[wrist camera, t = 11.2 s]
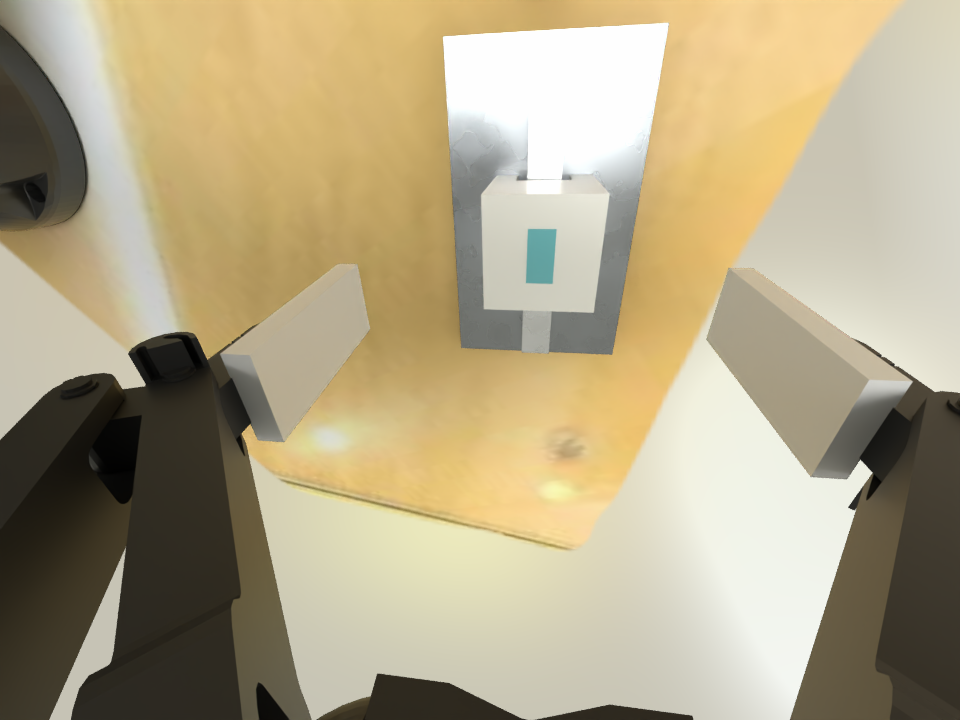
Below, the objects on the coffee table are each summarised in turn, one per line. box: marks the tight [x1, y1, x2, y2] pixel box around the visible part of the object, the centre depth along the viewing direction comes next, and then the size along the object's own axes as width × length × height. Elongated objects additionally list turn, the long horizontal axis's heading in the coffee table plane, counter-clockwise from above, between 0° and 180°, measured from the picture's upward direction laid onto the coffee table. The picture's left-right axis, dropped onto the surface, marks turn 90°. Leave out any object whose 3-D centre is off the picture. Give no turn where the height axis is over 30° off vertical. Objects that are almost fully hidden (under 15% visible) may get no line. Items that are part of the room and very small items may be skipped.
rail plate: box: [443, 23, 669, 355], centre depth 26 cm, size 12×20×3 cm, turn 1°
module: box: [481, 174, 610, 313], centre depth 23 cm, size 6×6×8 cm
